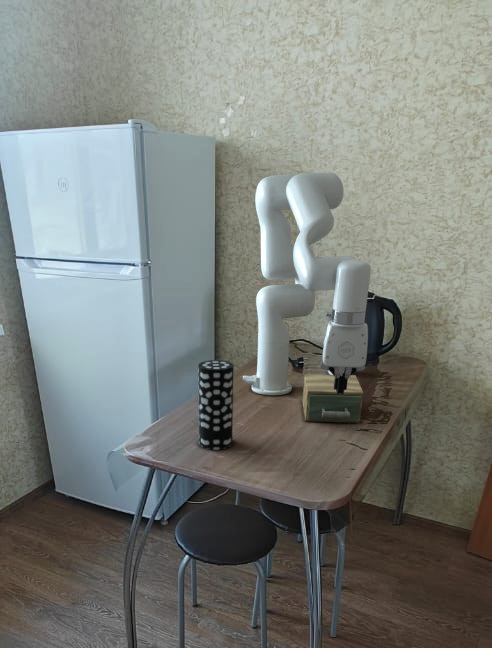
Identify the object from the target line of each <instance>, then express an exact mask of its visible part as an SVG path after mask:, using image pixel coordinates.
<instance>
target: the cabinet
mask: <svg viewBox="0 0 492 648" xmlns="http://www.w3.org/2000/svg"><path fill="white" fill-rule="evenodd" d="M341 376H342V375H341ZM303 377H304V380H303V391H302V409H303V415H304V421H305V422H323V423H352V424H353V423H354V424H355V423H356V424H359V423H361V415H362V413H361V412H362V406H363V398H364V390H363V388H362V387H361V384H360V381H359V379H358V377H357V375H355V374H352V375H351V376H350V377H349V378H348V382H347V390H344V394H341V393H340V394H337V392H336V390H334V380H335V376H334V375H330V374H319V373H318V374H317V373H316V374H314V373H305V374H304V376H303ZM310 394H336V395H357V396H361V404H360V412H359V420H358V421H335V420H308V410H309V397H310Z"/></svg>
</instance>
